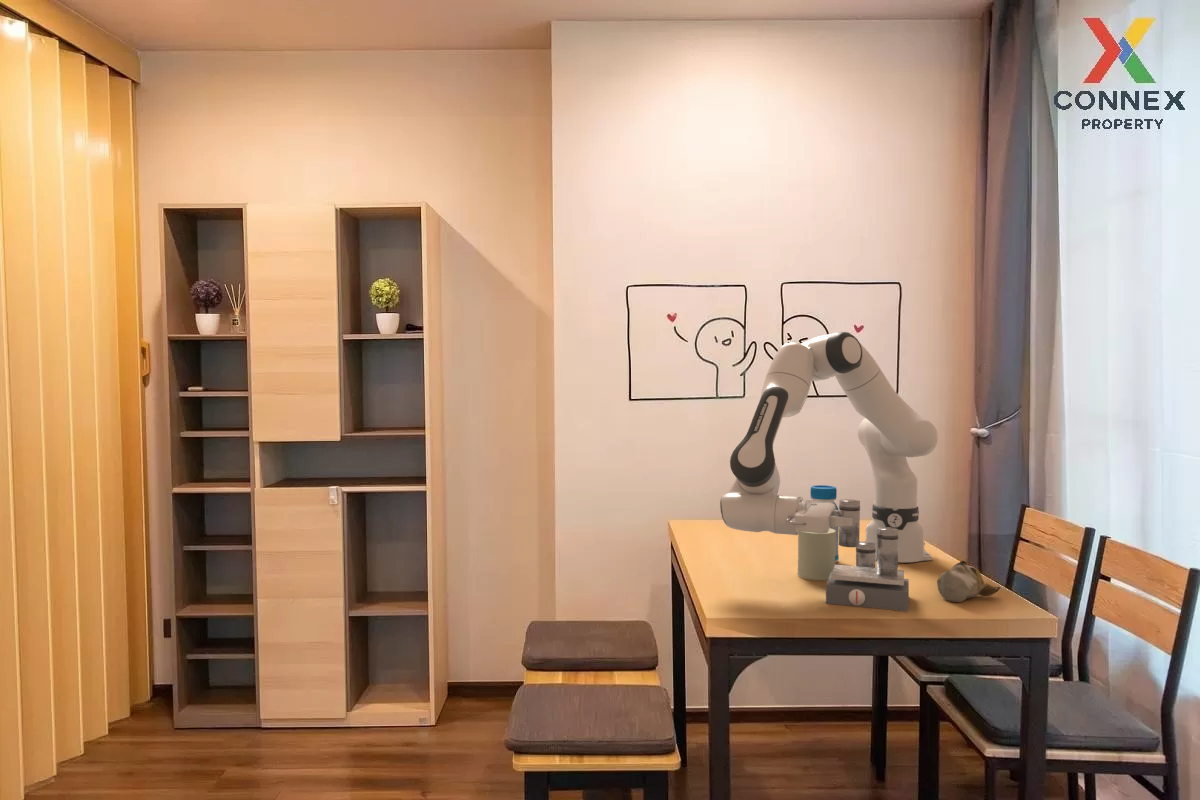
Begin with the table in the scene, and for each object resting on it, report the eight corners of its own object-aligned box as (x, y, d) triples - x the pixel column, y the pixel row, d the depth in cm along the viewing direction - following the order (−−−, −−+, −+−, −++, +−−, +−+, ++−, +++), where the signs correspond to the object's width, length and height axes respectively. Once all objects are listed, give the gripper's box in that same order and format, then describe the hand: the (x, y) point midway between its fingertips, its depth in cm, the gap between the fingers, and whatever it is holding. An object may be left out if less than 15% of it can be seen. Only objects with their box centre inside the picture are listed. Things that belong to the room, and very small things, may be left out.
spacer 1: (839, 542, 187) (839, 498, 187) (859, 543, 186) (860, 499, 185) (837, 546, 183) (838, 501, 183) (859, 548, 181) (859, 502, 181)
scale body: (830, 589, 192) (830, 572, 192) (908, 596, 186) (908, 579, 186) (825, 603, 180) (825, 585, 180) (908, 611, 174) (908, 593, 174)
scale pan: (834, 568, 190) (835, 564, 190) (903, 574, 185) (904, 570, 185) (831, 579, 181) (831, 574, 181) (903, 585, 176) (903, 580, 176)
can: (789, 573, 207) (790, 525, 207) (820, 570, 211) (821, 523, 210) (811, 582, 199) (812, 532, 198) (843, 578, 202) (843, 530, 202)
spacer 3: (876, 570, 185) (877, 526, 184) (898, 572, 183) (898, 527, 183) (875, 575, 180) (876, 530, 180) (897, 577, 179) (898, 531, 178)
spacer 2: (856, 582, 199) (856, 540, 198) (876, 583, 197) (876, 542, 197) (855, 586, 195) (855, 544, 194) (875, 588, 193) (875, 545, 193)
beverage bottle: (840, 565, 216) (841, 489, 215) (807, 563, 217) (808, 488, 217) (837, 558, 224) (838, 484, 223) (805, 556, 226) (806, 484, 225)
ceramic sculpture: (925, 559, 185) (959, 554, 194) (922, 597, 185) (956, 590, 194) (971, 568, 176) (1004, 562, 186) (969, 609, 176) (1002, 601, 186)
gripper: (784, 508, 179) (850, 512, 174) (796, 495, 198) (856, 498, 193) (783, 537, 179) (850, 542, 174) (796, 521, 198) (856, 525, 193)
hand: (853, 519), depth 184 cm, fingers closed on spacer 1, 4 cm apart
